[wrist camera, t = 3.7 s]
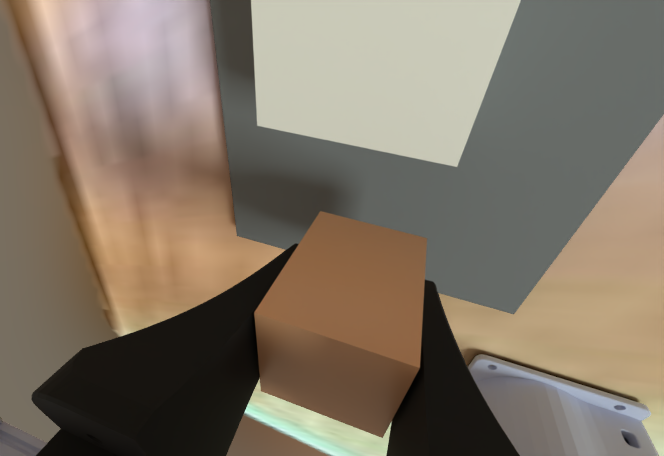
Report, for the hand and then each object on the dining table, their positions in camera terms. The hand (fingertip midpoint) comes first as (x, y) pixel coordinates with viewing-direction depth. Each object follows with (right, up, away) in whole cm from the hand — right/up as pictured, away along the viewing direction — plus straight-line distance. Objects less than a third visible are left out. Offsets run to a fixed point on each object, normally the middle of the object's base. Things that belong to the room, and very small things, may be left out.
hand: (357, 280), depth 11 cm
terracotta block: (0, +1, +1) cm, 1 cm away
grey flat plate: (+2, +6, +2) cm, 6 cm away
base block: (+1, +9, -1) cm, 9 cm away
